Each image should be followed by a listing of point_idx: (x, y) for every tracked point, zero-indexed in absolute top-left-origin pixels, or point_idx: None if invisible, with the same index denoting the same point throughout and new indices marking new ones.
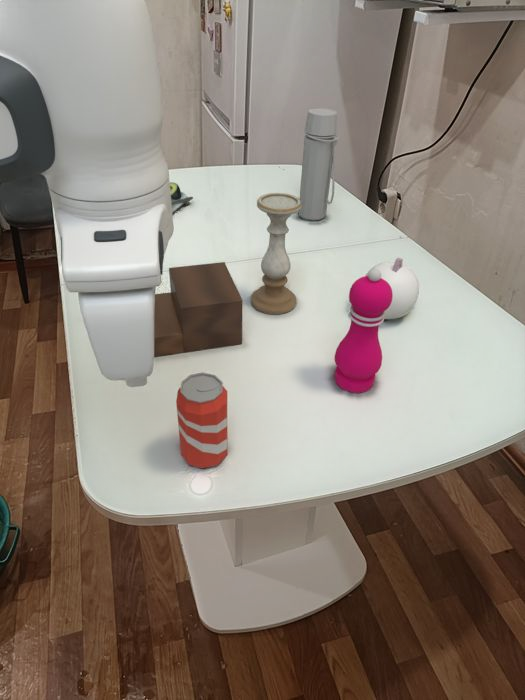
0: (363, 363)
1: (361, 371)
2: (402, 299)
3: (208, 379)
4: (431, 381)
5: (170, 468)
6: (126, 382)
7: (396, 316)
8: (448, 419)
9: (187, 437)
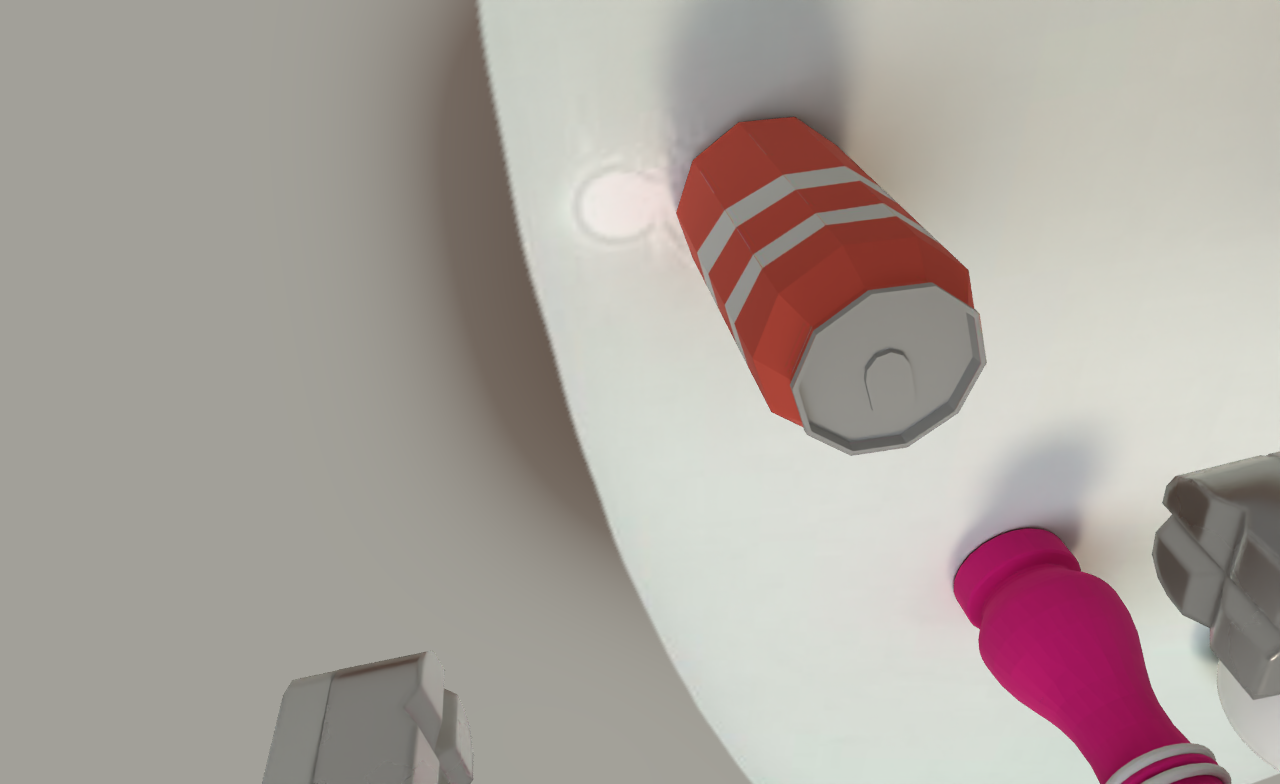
0: (1010, 673)
1: (991, 650)
2: (1259, 738)
3: (942, 382)
4: (962, 711)
5: (686, 81)
6: (282, 712)
7: (1219, 677)
8: (833, 735)
9: (732, 223)
